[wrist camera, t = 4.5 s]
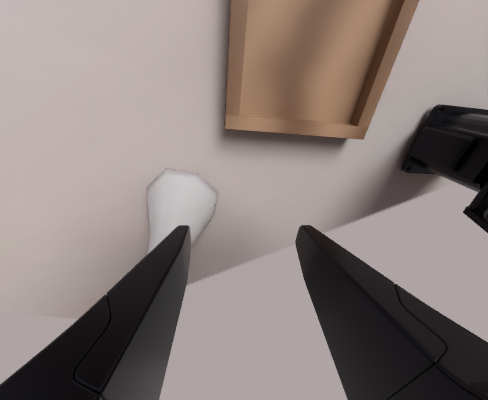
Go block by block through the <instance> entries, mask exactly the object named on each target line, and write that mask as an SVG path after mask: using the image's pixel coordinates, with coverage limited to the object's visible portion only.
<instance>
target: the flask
mask: <svg viewBox="0 0 488 400" xmlns="http://www.w3.org/2000/svg"><path fill="white" fill-rule="evenodd" d="M217 196H218V192H217V191H216V190H215V189H214V188H213V187H212V186H211V185H210V184H208V183H207V182H206V181H205V180H204V179H203V178H202V177H201V176H200V175H199V174H197V173H191V172H185V171H179V170H173V169H165V170H164V171H163V172H162V173H161V174H160V175H159V176H158V177H157V178H156V179H155V180H154V181H153V182H152V183H151V184H150V185H149V186H148V187H147V213H148V222H149V231H150V239H149V246H148V252H147V254H149V253H150V252H151V251H152V250H153V249H154V248H155V247H156V246H157V245H158V244H159V243H160V242H161V241H162V240H163V239H164V238H165V237H166V236H168V235H169V234H170V233H171V232H172V231H173V230H174V229H175V228H176V227H177V226H179V225H189V227H190V235H191V246H192V245H193V243H194V242H195V240H196V239H197V238H198V236H199V235H200V233H201V232H202V230H203V229H204V228H205V226H206V225H207V224H208V222H209V221H210V220H211V218H212V217H213V215H214V212H215V207H216V202H217Z"/></svg>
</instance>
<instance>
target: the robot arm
mask: <svg viewBox="0 0 488 400" xmlns="http://www.w3.org/2000/svg"><path fill="white" fill-rule="evenodd" d="M438 111H439V112H438ZM407 167H408V168H407ZM401 170H402V171H404V172H406V173H423V174H438V175H440V176H442V177H445V178H447V179H449V180H451V181H454V182H456V183H458V184H461V185H463V186H465V187H467V188H470V189H472V190H474V191H477V192H478V194H477V195H476V197H475V198H474V199H473V201H472V202H471V204H470V205H469V206H467V207H466V208H465V210H464V211H463V213H464V214H465V215H467V216H468V217H469V218H471V220H473V221H474V222H475V223H476V224H477V225H479V226H480V227H481V228H483V230H485V231H486V232H487V233H488V110H484V109H476V108H467V107H458V106H449V105H437V106H435V107H434V108H433V109H432V111H431V113H430V115H429V117H428V119H427V121H426V122H425V124H424V126H423V128H422V130H421V132H420V134H419V135H418V137H417V139H416V141H415V143H414V145H413V147H412V148H411V150H410V152H409V154H408V156H407V158H406V160H405V162H404V163H403V165H402V167H401ZM296 248H297V252H298V257H299V260H300V265H301V269H302V273H303V277H304V280H305V283H306V286H307V289H308V291H309V294H310V297H311V300H312V302H313V305H314V308H315V311H316V313H317V316H318V319H319V322H320V325H321V327H322V330H323V333H324V336H325V338H326V341H327V344H328V347H329V349H330V352H331V355H332V357H333V360H334V363H335V366H336V369H337V371H338V374H339V377H340V379H341V382H342V385H343V388H344V391H345V393H346V396H347V399H348V400H488V342H486V341H484V340H483V339H481V338H480V337H478V336H476V335H475V334H473V333H471V332H470V331H468V330H467V329H465V328H463V327H461V326H460V325H458V324H457V323H455V322H454V321H452V320H450V319H449V318H447V317H446V316H444V315H442V314H441V313H439V312H438V311H436V310H434V309H433V308H431V307H430V306H428V305H426V304H425V303H423V302H422V301H420V300H419V299H417V298H416V297H414V296H413V295H411V294H410V293H408V292H407V291H405V290H404V289H403V288H401V287H400V286H398V285H397V284H394V282H392V281H391V280H389V279H388V278H387V277H385V276H384V275H382V274H381V273H379V272H378V271H376V270H375V269H373V268H372V267H370V266H369V265H367V264H366V263H364V262H363V261H362V260H360V259H359V258H357V257H356V256H354V255H353V254H352V253H350V252H349V251H347V250H346V249H344V248H342V247H341V246H340V245H338V244H337V243H335V242H334V241H333V240H331V239H330V238H328V237H327V236H325V235H324V234H322V233H321V232H319V231H318V230H317V229H315V228H314V227H312V226H310V225H301V226H300V227H299V230H298V234H297V237H296ZM190 250H191V235H190V227H189V225H179V226H177V227H176V228H175V229H174V230H173V231H172V232H171V233H170V234H169V235H168V236H166V237H165V238H164V239H163V240H162V241H161V242H160V243H159V244H158V245H157V246H156V247H155V248H154V249H153V250H152V251H151V252H150V253H149V254H147V255H146V256H145V257H144V258H143V259H142V260H141V261H140V262H139V263H138V264H137V265H136V266H135V267H134V268H133V269H132V270H131V271H130V272H128V273H127V274H126V275H125V276H124V277H123V278H122V279H121V280H120V281H119V282H118V283H117V284H116V285H115V286H114V287H113V288H112V289H111V290H109V291H108V292H107V295H104V296H103V297H102V298H101V299H100V300H99V301H98V302H97V303H96V304H95V305H93V306H92V307H91V308H90V309H89V310H88V311H87V312H86V313H85V314H84V315H82V316H81V317H80V318H79V319H78V320H77V321H76V322H75V323H74V324H73V325H71V326H70V327H69V328H68V329H67V330H65V331H64V332H63V333H62V334H61V335H60V336H58V337H57V338H56V339H55V340H54V341H53V342H51V343H50V344H49V345H48V346H47V347H45V348H44V349H43V350H42V351H40V352H39V353H38V354H37V355H36V356H34V357H33V358H32V359H31V360H30V361H28V362H27V363H26V364H25V365H24V366H22V367H21V368H20V369H19V370H17V371H16V372H15V373H14V374H13V375H12V376H10V377H9V378H8V379H7V380H5V381H4V382H3V383H2V384H0V400H159V397H160V393H161V389H162V385H163V381H164V376H165V372H166V368H167V363H168V360H169V355H170V351H171V347H172V343H173V339H174V335H175V330H176V326H177V322H178V318H179V314H180V309H181V305H182V301H183V297H184V293H185V288H186V283H187V277H188V268H189V259H190Z"/></svg>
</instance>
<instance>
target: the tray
mask: <svg viewBox="0 0 488 400" xmlns="http://www.w3.org/2000/svg"><path fill="white" fill-rule="evenodd" d="M418 2H419V0H230V20H229V41H228V63H227V85H226V107H225V129H236V130H249V131H262V132H274V133H287V134H300V135H313V136H326V137H338V138H351V139H364V137H365V134H366V132H367V129H368V127H369V124H370V122H371V119H372V117H373V114H374V112H375V109H376V107H377V104H378V102H379V99H380V97H381V94H382V92H383V89H384V87H385V84H386V82H387V79H388V77H389V74H390V72H391V69H392V67H393V64H394V62H395V60H396V57H397V55H398V52H399V50H400V47H401V45H402V42H403V40H404V37H405V35H406V32H407V30H408V27H409V25H410V22H411V20H412V17H413V15H414V12H415V10H416V7H417V5H418Z"/></svg>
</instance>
